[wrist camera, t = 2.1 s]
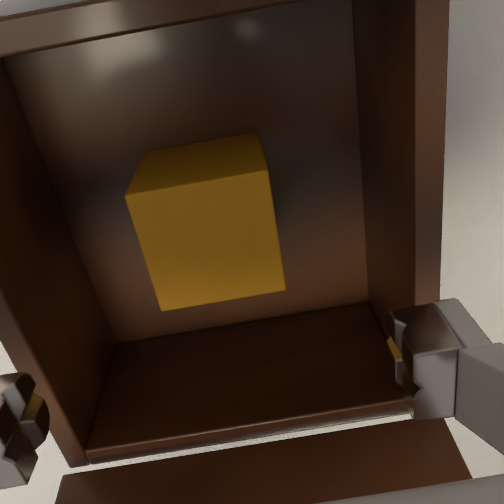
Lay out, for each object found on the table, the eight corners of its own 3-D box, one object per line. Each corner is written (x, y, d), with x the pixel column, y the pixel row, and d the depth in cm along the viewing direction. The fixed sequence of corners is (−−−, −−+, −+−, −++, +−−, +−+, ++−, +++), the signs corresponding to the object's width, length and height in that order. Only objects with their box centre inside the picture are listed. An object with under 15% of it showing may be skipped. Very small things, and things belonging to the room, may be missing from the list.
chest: (-24, 26, 16) (-162, 47, 11) (367, -49, 16) (452, -70, 10) (107, 348, 24) (69, 469, 18) (380, 301, 23) (436, 410, 17)
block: (143, 151, 18) (123, 195, 14) (258, 130, 18) (268, 169, 14) (172, 251, 20) (160, 313, 16) (274, 233, 20) (287, 291, 16)
